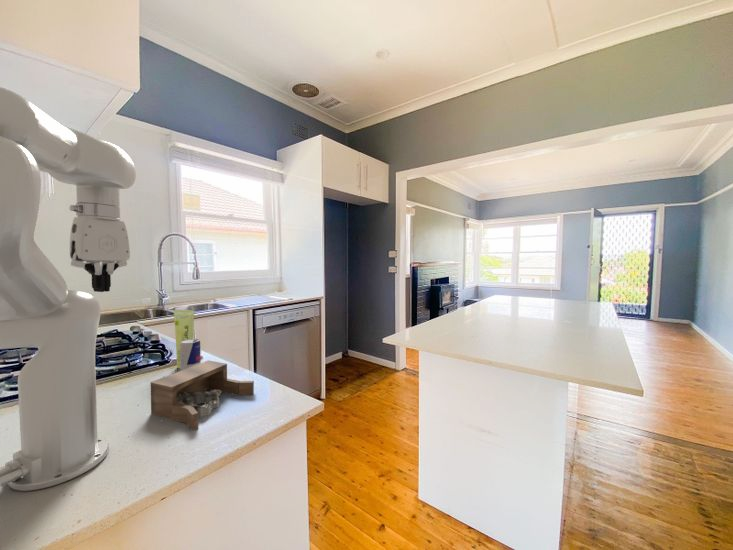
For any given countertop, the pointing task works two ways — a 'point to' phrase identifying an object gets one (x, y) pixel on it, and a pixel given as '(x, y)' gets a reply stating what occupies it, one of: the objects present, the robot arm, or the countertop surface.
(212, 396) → the grey holed block
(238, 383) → the walnut garage
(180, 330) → the tube
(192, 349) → the energy drink
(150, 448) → the countertop surface
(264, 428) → the countertop surface
